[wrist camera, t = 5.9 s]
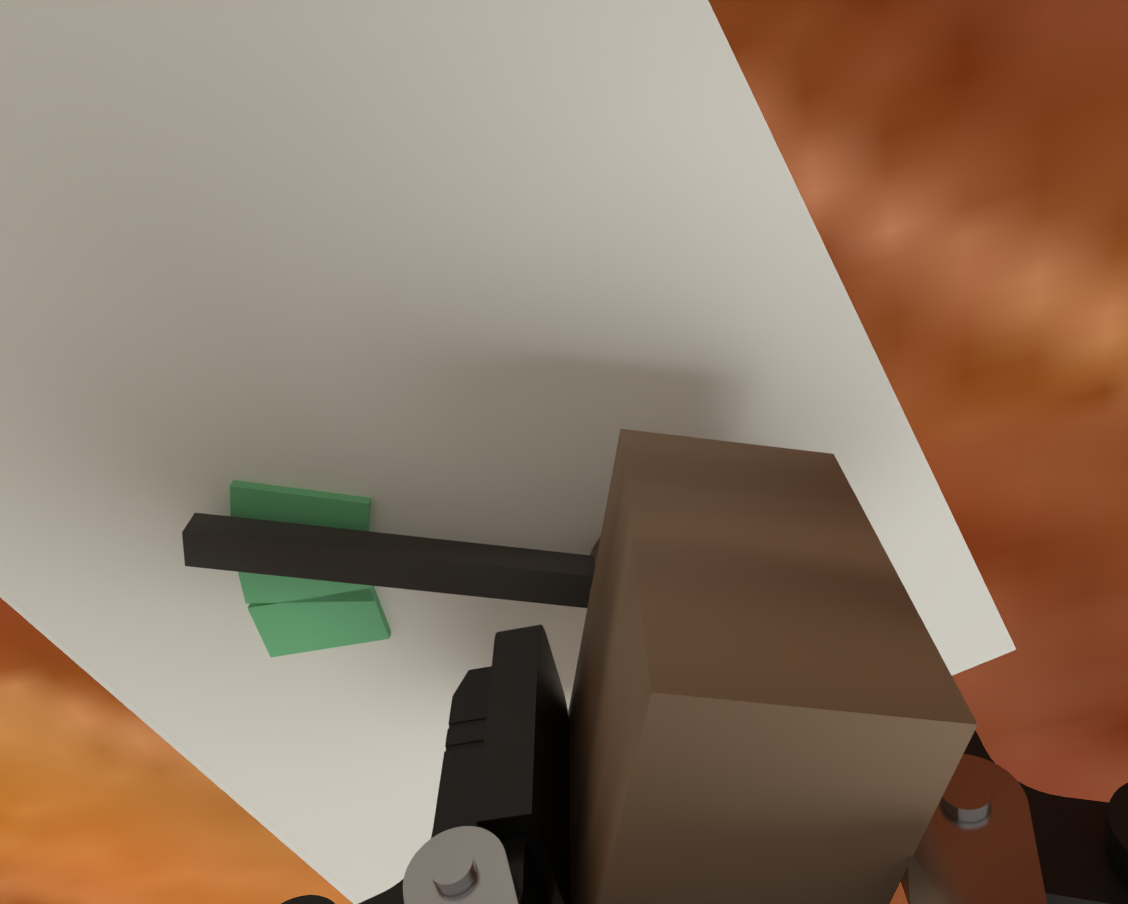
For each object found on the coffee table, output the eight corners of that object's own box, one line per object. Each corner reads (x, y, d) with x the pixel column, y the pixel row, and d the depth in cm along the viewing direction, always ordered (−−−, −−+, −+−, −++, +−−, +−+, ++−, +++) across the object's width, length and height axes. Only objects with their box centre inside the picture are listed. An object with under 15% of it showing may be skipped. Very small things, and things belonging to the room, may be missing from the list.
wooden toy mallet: (185, 305, 14) (-139, 613, 8) (795, 381, 15) (977, 724, 8) (215, 686, 18) (17, 1104, 11) (695, 733, 18) (765, 1154, 12)
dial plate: (266, -897, 9) (210, -1057, 8) (985, 601, 19) (1020, 656, 18) (-562, -1, 13) (-701, 5, 12) (375, 858, 23) (362, 920, 22)
